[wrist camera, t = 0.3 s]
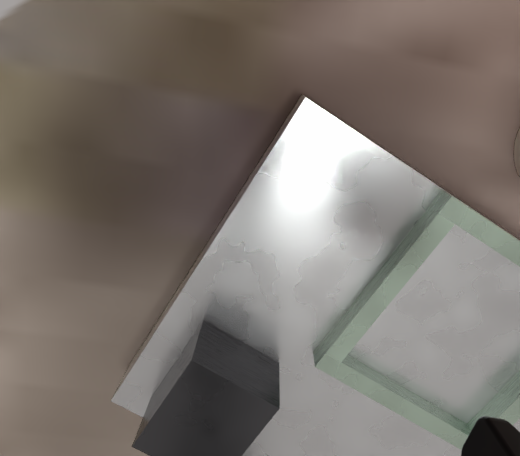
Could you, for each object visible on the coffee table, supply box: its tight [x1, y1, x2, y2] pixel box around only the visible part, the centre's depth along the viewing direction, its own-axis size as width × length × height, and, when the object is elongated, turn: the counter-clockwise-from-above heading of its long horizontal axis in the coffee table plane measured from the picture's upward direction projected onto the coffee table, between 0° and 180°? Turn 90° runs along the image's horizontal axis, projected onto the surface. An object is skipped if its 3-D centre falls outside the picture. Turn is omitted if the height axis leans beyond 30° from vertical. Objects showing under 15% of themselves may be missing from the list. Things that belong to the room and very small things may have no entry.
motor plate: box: [111, 95, 520, 456], centre depth 21 cm, size 16×22×6 cm
